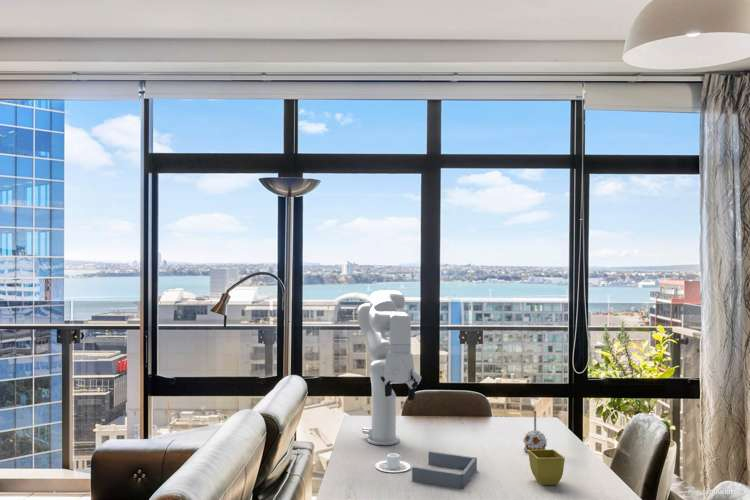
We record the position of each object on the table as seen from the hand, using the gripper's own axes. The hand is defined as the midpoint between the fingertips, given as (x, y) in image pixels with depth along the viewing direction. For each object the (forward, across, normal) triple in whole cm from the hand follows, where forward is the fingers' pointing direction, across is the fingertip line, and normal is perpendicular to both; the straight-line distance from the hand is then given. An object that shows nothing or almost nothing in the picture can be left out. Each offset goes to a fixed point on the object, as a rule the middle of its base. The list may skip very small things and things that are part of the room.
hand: (399, 398), depth 195 cm
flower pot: (+22, +48, +12) cm, 54 cm away
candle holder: (+22, +2, -7) cm, 23 cm away
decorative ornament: (+22, +34, +39) cm, 56 cm away
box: (+22, +19, -2) cm, 29 cm away
